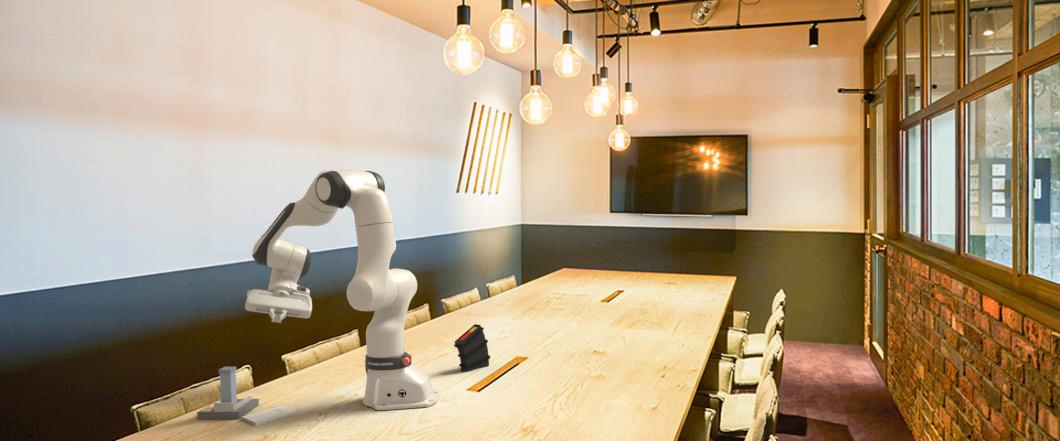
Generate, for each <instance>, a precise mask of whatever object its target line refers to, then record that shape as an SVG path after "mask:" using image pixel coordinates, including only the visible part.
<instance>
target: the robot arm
mask: <svg viewBox="0 0 1060 441" xmlns="http://www.w3.org/2000/svg"><path fill="white" fill-rule="evenodd" d="M345 207H348V208H349V209H350V210H351V211H352V212H353V216H354V225H355V234H356V243H357V263H356V268H355V273H354V275H353V277H352V279H351V281H350V282H349V283H348V285H347V288H346V298H347V301H348V303H349V305H350V306H351V307H352V309H354V310H357V311H360V312H374V313H373V316H372V319H371V321H370V322H369V324H367V327H366V330H365V342H366V346H365V347H366V354H365V356H364V357H365V360H364V366H365V367H364V368H365V374H366V383H365V391H364V396H363V400H362V403H363V405H365V406H367V407H370V408H373V409H374V410H375V411H389V410H400V409H401V410H404V409H413V408H414V409H415V408H416V409H417V408H427V407H430V406H432V405H435V404H436V403H437V402H438V401H439V399H440V392H439V391H438V390H437V389H433V388H432V383H431V382H432V381H431V380H430V377H429V375H428V374H426V373H424V372H423V371H422V370H420V369H419V368H417V367H416V366H415V365H413V364H412V356H413V354H412V353H410V354H409V353H408V352H406V351H405V323H406V318H407V315H408V314H407V313H408V310H409V306H410V304H411V301H412V299H413V298H414V296H415V295H416V293H417V290H418V280H417V278H416V276H415V275H414V274H413V273H412V272H411V271H410V270H408V269H402V268H391V269H390V263H391V259H392V255H394V253H395V252H396V250H397V241H396V240H397V239H396V236H395V235H396V234H395V228H394V220H393V216H392V210H391V206H390V202H389V200H388V197H387V194H386V185H385V181H384V178H383V177H382V176H381V174H379V173H377V172H375V171H371V170H364V171H363V170H353V169H345V170H344V169H341V170H335V169H325V170H322V171H321V172H319V173H318V174H317V176H315V178H314V180H313V181H312V182H311V184H310V185H309V187H308V188H307V190H306V192H305V194H304V196H303V197H302V198H300V199H299V200H297V201H295V202H290V203H288V204H287V205H286V206H285V207H284V208H283V209H282V211H281V212H280V213H279V214H278V215H277V217H276V218H275V220H273V222H272V223H271V225H269V227H268V228H267V230H266V231H265V232H264V233H263V234H262V235H260V237H259V238H258V240H257V241H256V242H255V243H254V246H253V248H252V253H251V254H252V258H253V260H254V261H255V263H256V264H257V265H259V266H264V267H269V268H272V270H271V273H270V278H269V279H270V281H269V283H268V288H267V289H259V288H252V289H248V290H247V292H246V300H245V304H244V309H245V310H246V311H248V312H253V313H261V314H268V315H269V317H270V318H271V323H277V324H278V323H279V324H282V321H283V320H284V319H285V318H287V317H290V318H291V317H292V318H298V319H299V318H301V319H307V320H308V319H309V318H311V316H312V311H313V300H312V297H311V294H310V293H311V292H310V291H311V290H310V289H309V288H307V287H303V286H301V285H299V284H297V283H298V281H300V280H302V279H303V278H305V277H306V275H307V274H308V272H309V269H310V267H311V263H312V254H311V251H310V250H309V248H307V247H305V246H302V245H299V244H297V243H293V242H290V241H286V240H283V239H280V238H281V237H282V235H283V234H284V233H285V231H286V230H287V229H289V228H291V227H297V226H299V227H301V226H304V227H305V226H306V227H320V226H324V225H327V224H328V223H330V222H331V221H332V220H333V218H334V217H335V215H336V214H337V213H338V211H339V209H345Z"/></svg>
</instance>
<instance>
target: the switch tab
mask: <svg viewBox="0 0 1060 441" xmlns="http://www.w3.org/2000/svg"><path fill="white" fill-rule="evenodd" d="M236 371H237V366H223V367H222V368H221V367H220V368H219V369H218V375H219V384H220V399H221V403H225V402H234V403H235V405H236V404H237V399H238V396H237V394H238V393H237V378H236V377H237V375H236V374H237V373H236Z"/></svg>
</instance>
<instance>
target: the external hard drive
mask: <svg viewBox="0 0 1060 441" xmlns="http://www.w3.org/2000/svg"><path fill="white" fill-rule="evenodd" d="M297 414H298V410H297V409H295V408H292V407H289V406H286V405H278V406H275V407H271V408H268V409H264V410H260V411H256V412H252V413H250V414H249V413H248V414H246V415H244V416H242V417H241V418H240V420H241V421H242V420H243V421H242V422H245V423H248V424H250V425H253V426H255V427H256V426H259V425H263V424H266V423H270V422H273V421H276V420H280V419H283V418H286V417H290V416H293V415H297Z"/></svg>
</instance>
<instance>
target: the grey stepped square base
mask: <svg viewBox="0 0 1060 441" xmlns="http://www.w3.org/2000/svg"><path fill="white" fill-rule="evenodd" d="M259 400H260V399H259V398H253V395H248V396H246V397H245V398H237V404H236V405H235V403H234V402H225V403H221V398H219V399H217V400H216V401H214V402H212V403H210V404H208V405H206V407H204V408H202V409H200V410H199V411H197V413H196V414H197V420H241V417H242V416H245V415H248V414H249V413H250V412H252V411H253V410H254V409H255V408H257V407H259V405H260V403H259ZM248 412H249V413H248Z"/></svg>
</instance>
